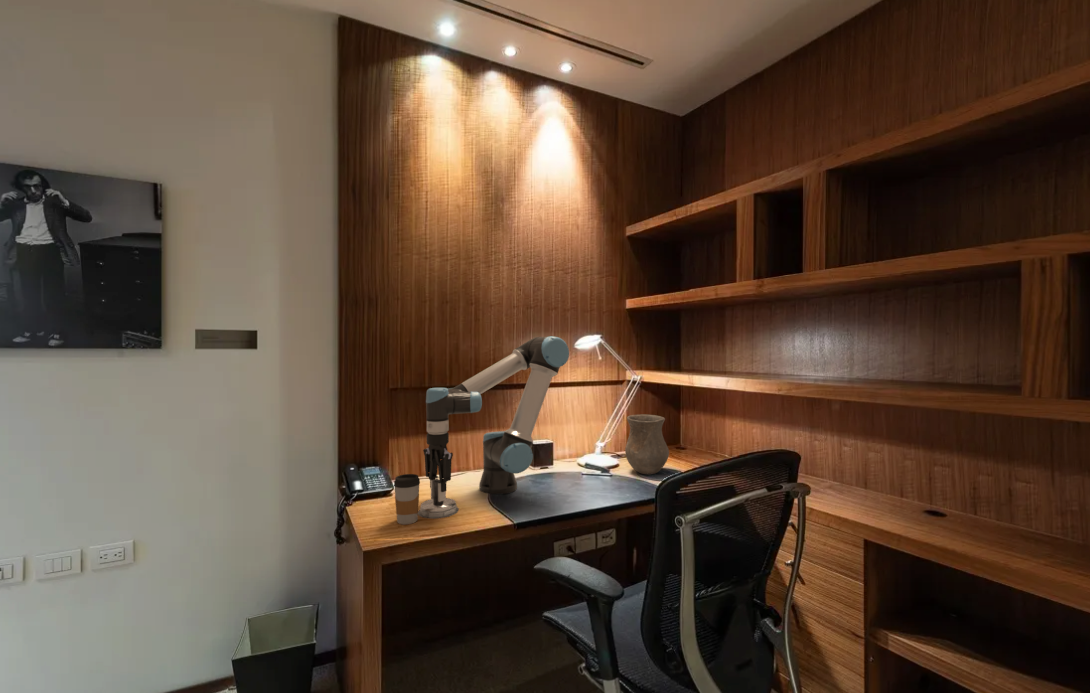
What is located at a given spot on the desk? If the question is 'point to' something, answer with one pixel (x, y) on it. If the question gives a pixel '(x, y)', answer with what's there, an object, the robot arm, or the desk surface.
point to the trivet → (439, 517)
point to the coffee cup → (407, 498)
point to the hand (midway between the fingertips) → (438, 499)
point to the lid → (437, 505)
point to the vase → (646, 444)
